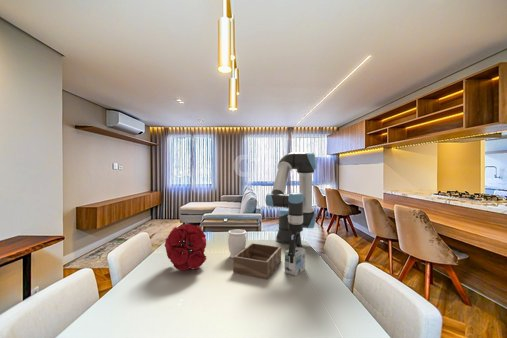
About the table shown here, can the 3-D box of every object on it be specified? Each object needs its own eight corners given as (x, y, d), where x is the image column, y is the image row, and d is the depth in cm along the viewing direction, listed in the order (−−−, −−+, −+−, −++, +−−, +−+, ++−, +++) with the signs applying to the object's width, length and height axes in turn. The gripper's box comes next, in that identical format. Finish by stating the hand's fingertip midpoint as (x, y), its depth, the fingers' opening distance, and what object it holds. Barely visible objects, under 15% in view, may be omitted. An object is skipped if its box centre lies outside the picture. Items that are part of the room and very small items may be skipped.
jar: (246, 253, 144) (247, 229, 144) (244, 260, 134) (244, 234, 134) (229, 253, 145) (230, 228, 145) (226, 259, 135) (226, 233, 135)
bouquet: (170, 271, 133) (153, 264, 107) (179, 230, 145) (166, 214, 119) (208, 275, 133) (200, 268, 107) (214, 233, 145) (208, 218, 119)
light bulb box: (296, 276, 115) (296, 254, 115) (284, 272, 119) (284, 251, 119) (305, 269, 123) (305, 248, 123) (293, 265, 127) (294, 245, 127)
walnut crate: (251, 256, 140) (252, 242, 140) (281, 261, 133) (281, 247, 133) (233, 272, 118) (233, 256, 118) (267, 279, 111) (267, 262, 111)
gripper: (293, 217, 134) (293, 254, 134) (281, 227, 111) (281, 272, 111) (307, 218, 131) (306, 256, 131) (297, 229, 108) (297, 275, 108)
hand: (295, 264), depth 121 cm, fingers open, 13 cm apart
